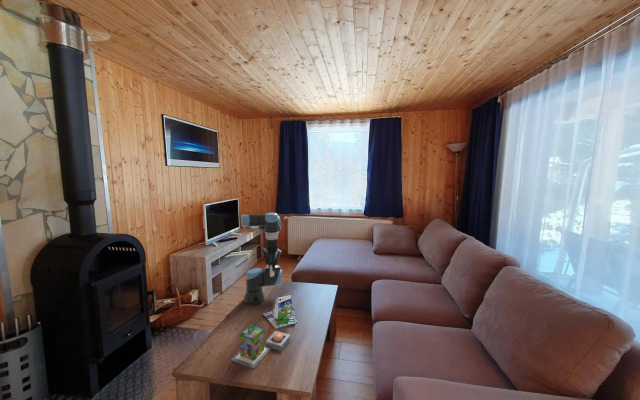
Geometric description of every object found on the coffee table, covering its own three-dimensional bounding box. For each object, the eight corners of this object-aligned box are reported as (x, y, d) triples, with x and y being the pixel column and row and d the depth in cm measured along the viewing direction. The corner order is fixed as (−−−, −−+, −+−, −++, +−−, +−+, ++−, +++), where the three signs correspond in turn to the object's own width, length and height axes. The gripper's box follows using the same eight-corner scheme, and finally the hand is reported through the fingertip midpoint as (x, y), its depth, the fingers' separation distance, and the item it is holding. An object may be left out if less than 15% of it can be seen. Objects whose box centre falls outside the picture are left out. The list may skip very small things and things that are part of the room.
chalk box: (254, 361, 121) (254, 333, 120) (239, 356, 125) (238, 328, 123) (265, 349, 130) (264, 322, 129) (250, 344, 133) (250, 319, 132)
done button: (276, 335, 140) (276, 331, 139) (285, 337, 138) (285, 333, 137) (271, 341, 134) (271, 337, 134) (279, 344, 132) (279, 339, 132)
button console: (275, 335, 143) (275, 330, 142) (290, 339, 139) (290, 334, 139) (265, 346, 133) (265, 341, 133) (281, 351, 130) (281, 346, 129)
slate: (250, 342, 136) (250, 340, 136) (271, 348, 131) (271, 347, 131) (231, 360, 123) (231, 359, 122) (254, 369, 117) (254, 367, 117)
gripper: (259, 238, 146) (259, 276, 148) (277, 241, 141) (278, 280, 144) (266, 236, 153) (266, 272, 155) (284, 238, 148) (284, 275, 151)
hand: (272, 275), depth 150 cm, fingers closed
